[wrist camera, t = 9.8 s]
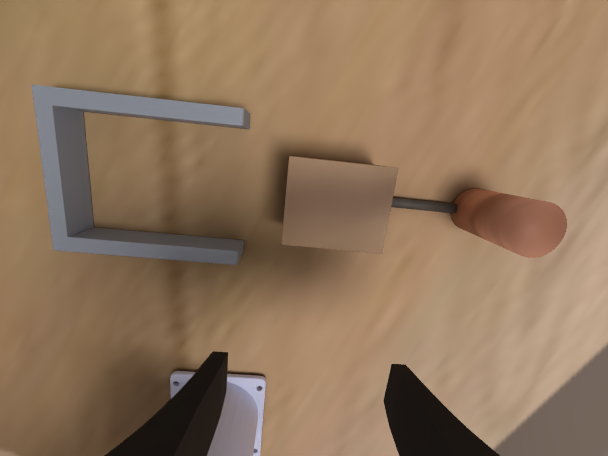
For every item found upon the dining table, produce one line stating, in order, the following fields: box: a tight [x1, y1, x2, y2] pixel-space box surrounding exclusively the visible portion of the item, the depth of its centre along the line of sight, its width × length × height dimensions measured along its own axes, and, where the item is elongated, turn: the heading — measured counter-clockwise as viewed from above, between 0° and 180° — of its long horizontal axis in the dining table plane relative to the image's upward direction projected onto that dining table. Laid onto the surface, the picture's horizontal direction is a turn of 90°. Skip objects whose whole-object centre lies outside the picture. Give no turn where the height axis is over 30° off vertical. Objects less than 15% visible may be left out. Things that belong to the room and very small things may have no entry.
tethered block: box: [281, 156, 567, 258], centre depth 18 cm, size 5×16×6 cm, turn 84°
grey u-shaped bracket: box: [32, 85, 250, 265], centre depth 19 cm, size 10×12×2 cm
